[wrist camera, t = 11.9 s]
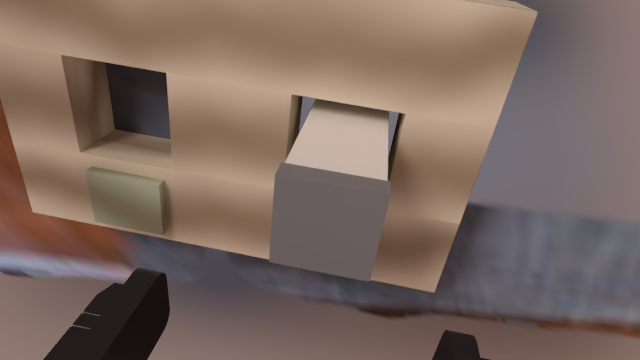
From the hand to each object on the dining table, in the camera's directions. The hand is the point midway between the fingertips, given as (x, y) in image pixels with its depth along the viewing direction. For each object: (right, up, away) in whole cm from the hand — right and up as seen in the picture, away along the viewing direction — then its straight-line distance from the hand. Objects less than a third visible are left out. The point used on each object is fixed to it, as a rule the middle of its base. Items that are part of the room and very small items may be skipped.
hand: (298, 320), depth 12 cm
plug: (+2, +7, +13) cm, 15 cm away
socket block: (-4, +8, +13) cm, 16 cm away
